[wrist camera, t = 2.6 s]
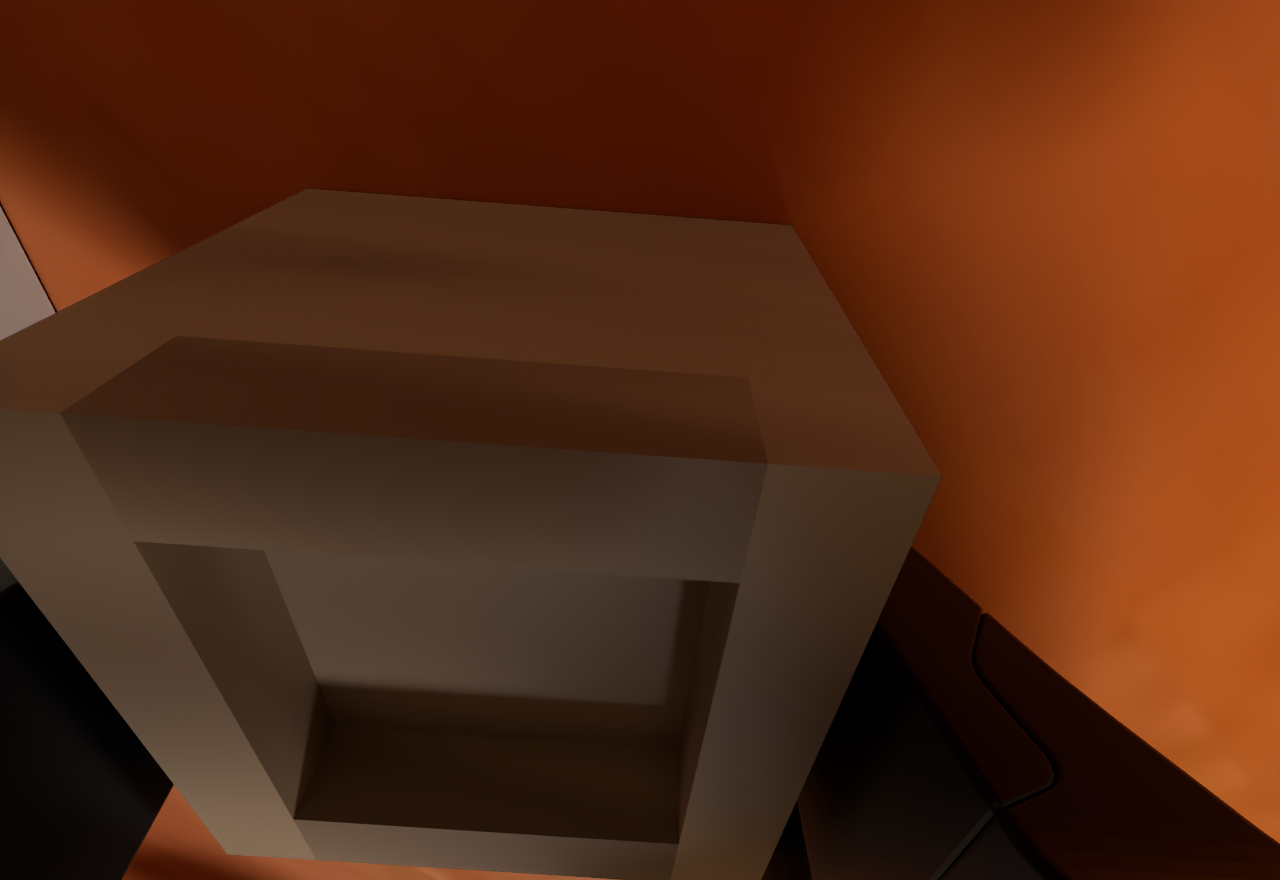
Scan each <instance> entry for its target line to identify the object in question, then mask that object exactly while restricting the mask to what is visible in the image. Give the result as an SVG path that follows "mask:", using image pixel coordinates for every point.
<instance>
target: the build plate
mask: <svg viewBox="0 0 1280 880" xmlns="http://www.w3.org/2000/svg"><path fill="white" fill-rule="evenodd" d="M53 314H55V311H54V309H53V307H52V305H51V303H50V301H49V299H48V297H47V295H46V293H45V291H44V289H43V288H42V286H41V284H40V282H39V280H38V278H37V276H36V274H35V272H34V270H33V268H32V266H31V264H30V263H29V261H28V259H27V257H26V255H25V253H24V251H23V249H22V247H21V245H20V243H19V241H18V239H17V238H16V236H15V234H14V232H13V230H12V228H11V226H10V224H9V222H8V220H7V218H6V216H5V214H4V213H3V211H2V209H1V207H0V340H2V339H4V338H6V337H8V336H10V335H12V334H14V333H16V332H18V331H20V330H22V329H24V328H26V327H28V326H30V325H32V324H34V323H36V322H39V321H41V320H43V319H45V318H47V317H49V316H51V315H53Z"/></svg>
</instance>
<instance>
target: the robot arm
mask: <svg viewBox="0 0 1280 880" xmlns="http://www.w3.org/2000/svg"><path fill="white" fill-rule="evenodd" d="M982 612H983V609H982V608H981V607H980V606H979V605H978V604H977V603H976V602H975V601H974V600H973V599H971V598H970V597H969V596H968V595H967V594H966V593H965V592H963V591H962V590H961V589H960V588H959V587H958V586H957V585H956V584H954V583H953V582H952V581H951V580H950V579H949V578H948V577H946V576H945V575H944V574H943V573H942V572H941V571H940V570H939V569H937V568H936V567H935V566H934V565H933V564H932V563H931V562H929V561H928V560H927V559H926V558H925V557H924V556H923V555H921V554H920V553H919V552H918V551H917V550H916V549H915V548H914V547H912V546H911V547H910V550H909V552H908V554H907V556H906V559H905V561H904V563H903V565H902V567H901V570H900V572H899V574H898V576H897V579H896V581H895V583H894V585H893V587H892V590H891V592H890V594H889V596H888V599H887V601H886V603H885V605H884V607H883V610H882V612H881V614H880V616H879V619H878V621H877V623H876V625H875V628H874V630H873V632H872V634H871V636H870V639H869V641H868V643H867V645H866V648H865V650H864V652H863V654H862V656H861V659H860V661H859V663H858V665H857V668H856V670H855V672H854V674H853V676H852V679H851V681H850V683H849V685H848V688H847V690H846V692H845V694H844V697H843V699H842V701H841V703H840V705H839V708H838V710H837V712H836V714H835V717H834V719H833V721H832V723H831V725H830V728H829V730H828V732H827V734H826V737H825V739H824V741H823V743H822V745H821V748H820V750H819V752H818V754H817V757H816V759H815V761H814V763H813V766H812V768H811V770H810V772H809V774H808V777H807V779H806V781H805V783H804V786H803V788H802V790H801V792H800V794H799V797H798V799H797V801H796V803H795V806H794V808H793V810H792V812H791V815H790V817H789V819H788V821H787V823H786V826H785V828H784V830H783V832H782V835H781V837H780V839H779V841H778V843H777V846H776V848H775V850H774V852H773V855H772V857H771V859H770V861H769V863H768V866H767V868H766V870H765V872H764V875H763V877H762V879H761V880H1280V844H1279V843H1278V842H1277V841H1275V840H1274V839H1273V838H1271V837H1270V836H1268V835H1267V834H1266V833H1264V832H1263V831H1261V830H1260V829H1259V828H1257V827H1256V826H1255V825H1253V824H1252V823H1251V822H1249V821H1248V820H1247V819H1246V818H1244V817H1243V816H1242V815H1240V814H1239V813H1238V812H1236V811H1235V810H1234V809H1233V808H1231V807H1230V806H1229V805H1227V804H1226V803H1225V802H1223V801H1222V800H1221V799H1219V798H1218V797H1217V796H1216V795H1214V794H1213V793H1212V792H1210V791H1209V790H1208V789H1206V788H1205V787H1204V786H1203V785H1201V784H1200V783H1199V782H1197V781H1196V780H1195V779H1193V778H1192V777H1191V776H1190V775H1188V774H1187V773H1186V772H1184V771H1183V770H1182V769H1180V768H1179V767H1178V766H1176V765H1175V764H1174V763H1173V762H1171V761H1170V760H1169V759H1167V758H1166V757H1165V756H1163V755H1162V754H1161V753H1160V752H1158V751H1157V750H1156V749H1154V748H1153V747H1152V746H1150V745H1149V744H1148V743H1147V742H1145V741H1144V740H1143V739H1141V738H1140V737H1139V736H1137V735H1136V734H1135V733H1134V732H1132V731H1131V730H1130V729H1128V728H1127V727H1126V726H1124V725H1123V724H1122V723H1120V722H1119V721H1118V720H1117V719H1115V718H1114V717H1113V716H1111V715H1110V714H1109V713H1108V712H1106V711H1105V710H1104V709H1103V708H1101V707H1100V706H1099V705H1098V704H1096V703H1095V702H1094V701H1092V700H1091V699H1090V698H1089V697H1087V696H1086V695H1085V694H1084V693H1082V692H1081V691H1080V690H1079V689H1077V688H1076V687H1075V686H1074V685H1072V684H1071V683H1070V682H1068V681H1067V680H1066V679H1065V678H1063V677H1062V676H1061V675H1060V674H1058V673H1057V672H1056V671H1055V670H1054V669H1053V668H1051V667H1050V666H1049V665H1048V664H1047V663H1045V662H1044V661H1043V660H1042V659H1041V658H1040V657H1038V656H1037V655H1036V654H1035V653H1034V652H1032V651H1031V650H1030V649H1029V648H1028V647H1027V646H1025V645H1024V644H1023V643H1022V642H1021V641H1020V640H1018V639H1017V638H1016V637H1015V636H1014V635H1013V634H1011V633H1010V632H1009V631H1008V630H1007V629H1006V628H1005V627H1003V626H1002V625H1001V624H1000V623H999V622H998V621H997V620H996V619H994V618H993V617H992V616H991V615H990V614H988V613H983V614H982ZM173 785H174V784H173V783H172V781H171V780H170V779H169V777H168V776H167V775H166V773H165V772H164V771H163V770H162V768H161V767H160V766H159V764H158V763H157V762H156V760H155V759H154V758H153V756H152V755H151V754H150V753H149V751H148V750H147V749H146V747H145V746H144V745H143V743H142V742H141V741H140V739H139V738H138V737H137V736H136V734H135V733H134V732H133V730H132V729H131V728H130V726H129V725H128V724H127V723H126V721H125V720H124V719H123V717H122V716H121V715H120V713H119V712H118V711H117V709H116V708H115V707H114V706H113V704H112V703H111V702H110V700H109V699H108V698H107V696H106V695H105V694H104V692H103V691H102V690H101V689H100V687H99V686H98V685H97V683H96V682H95V681H94V679H93V678H92V677H91V676H90V674H89V673H88V672H87V670H86V669H85V668H84V666H83V665H82V664H81V662H80V661H79V660H78V659H77V657H76V656H75V655H74V653H73V652H72V651H71V649H70V648H69V647H68V645H67V644H66V643H65V642H64V640H63V639H62V638H61V636H60V635H59V634H58V632H57V631H56V630H55V629H54V627H53V626H52V625H51V623H50V622H49V621H48V619H47V618H46V617H45V615H44V614H43V613H42V612H41V610H40V609H39V608H38V606H37V605H36V604H35V602H34V601H33V600H32V598H31V597H30V596H29V595H28V593H27V592H26V591H25V589H24V588H23V587H22V585H21V584H20V583H19V582H18V580H17V579H16V578H15V576H14V575H13V574H12V572H11V571H10V570H9V568H8V567H7V566H6V565H5V563H4V562H3V561H2V559H1V558H0V880H122V879H123V877H124V875H125V873H126V871H127V870H128V868H129V866H130V864H131V862H132V860H133V859H134V857H135V855H136V853H137V851H138V849H139V848H140V846H141V844H142V842H143V840H144V838H145V837H146V835H147V833H148V831H149V829H150V827H151V826H152V824H153V822H154V820H155V818H156V816H157V815H158V813H159V811H160V809H161V807H162V805H163V804H164V802H165V800H166V798H167V796H168V794H169V793H170V791H171V789H172V787H173Z"/></svg>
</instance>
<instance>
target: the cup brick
mask: <svg viewBox="0 0 1280 880" xmlns="http://www.w3.org/2000/svg"><path fill="white" fill-rule="evenodd" d="M941 478H942V475H941V473H940V471H939V470H938V468H937V466H936V465H935V463H934V461H933V460H932V458H931V456H930V455H929V453H928V451H927V450H926V448H925V446H924V445H923V443H922V441H921V440H920V438H919V436H918V435H917V433H916V431H915V430H914V428H913V426H912V425H911V423H910V421H909V420H908V418H907V416H906V415H905V413H904V411H903V410H902V408H901V406H900V405H899V403H898V401H897V400H896V398H895V396H894V395H893V393H892V391H891V390H890V388H889V386H888V385H887V383H886V381H885V380H884V378H883V376H882V375H881V373H880V371H879V370H878V368H877V366H876V365H875V363H874V361H873V360H872V358H871V356H870V355H869V353H868V351H867V350H866V348H865V346H864V345H863V343H862V341H861V340H860V338H859V336H858V335H857V333H856V331H855V330H854V328H853V326H852V325H851V323H850V321H849V320H848V318H847V316H846V315H845V313H844V311H843V310H842V308H841V306H840V305H839V303H838V301H837V300H836V298H835V296H834V295H833V293H832V291H831V290H830V288H829V286H828V285H827V283H826V281H825V280H824V278H823V276H822V275H821V273H820V271H819V270H818V268H817V266H816V265H815V263H814V261H813V260H812V258H811V256H810V255H809V253H808V251H807V250H806V248H805V246H804V245H803V243H802V241H801V240H800V238H799V236H798V235H797V233H796V231H795V230H794V228H793V226H792V225H781V224H768V223H755V222H742V221H728V220H715V219H702V218H689V217H676V216H663V215H650V214H637V213H623V212H610V211H597V210H584V209H571V208H558V207H545V206H531V205H518V204H505V203H492V202H479V201H466V200H453V199H439V198H426V197H413V196H400V195H387V194H374V193H361V192H347V191H334V190H321V189H308V188H307V189H305V190H303V191H301V192H299V193H297V194H295V195H293V196H291V197H289V198H287V199H285V200H283V201H281V202H279V203H277V204H275V205H273V206H271V207H269V208H267V209H265V210H263V211H261V212H259V213H257V214H255V215H253V216H251V217H249V218H246V219H244V220H242V221H240V222H238V223H236V224H234V225H232V226H230V227H228V228H226V229H224V230H222V231H220V232H218V233H216V234H214V235H212V236H210V237H208V238H206V239H204V240H202V241H200V242H198V243H196V244H194V245H192V246H190V247H188V248H186V249H184V250H182V251H180V252H178V253H176V254H174V255H172V256H170V257H168V258H166V259H164V260H162V261H160V262H158V263H156V264H154V265H152V266H150V267H148V268H146V269H144V270H141V271H139V272H137V273H135V274H133V275H131V276H129V277H127V278H125V279H123V280H121V281H119V282H117V283H115V284H113V285H111V286H109V287H107V288H105V289H103V290H101V291H99V292H97V293H95V294H93V295H91V296H89V297H87V298H85V299H83V300H81V301H79V302H77V303H75V304H73V305H71V306H69V307H67V308H65V309H63V310H61V311H59V312H57V313H55V314H53V315H51V316H49V317H47V318H45V319H43V320H41V321H39V322H36V323H34V324H32V325H30V326H28V327H26V328H24V329H22V330H20V331H18V332H16V333H14V334H12V335H10V336H8V337H6V338H4V339H2V340H0V558H1V559H2V561H3V562H4V563H5V565H6V566H7V567H8V568H9V570H10V571H11V572H12V574H13V575H14V576H15V578H16V579H17V580H18V582H19V583H20V584H21V585H22V587H23V588H24V589H25V591H26V592H27V593H28V595H29V596H30V597H31V598H32V600H33V601H34V602H35V604H36V605H37V606H38V608H39V609H40V610H41V612H42V613H43V614H44V615H45V617H46V618H47V619H48V621H49V622H50V623H51V625H52V626H53V627H54V629H55V630H56V631H57V632H58V634H59V635H60V636H61V638H62V639H63V640H64V642H65V643H66V644H67V645H68V647H69V648H70V649H71V651H72V652H73V653H74V655H75V656H76V657H77V659H78V660H79V661H80V662H81V664H82V665H83V666H84V668H85V669H86V670H87V672H88V673H89V674H90V676H91V677H92V678H93V679H94V681H95V682H96V683H97V685H98V686H99V687H100V689H101V690H102V691H103V692H104V694H105V695H106V696H107V698H108V699H109V700H110V702H111V703H112V704H113V706H114V707H115V708H116V709H117V711H118V712H119V713H120V715H121V716H122V717H123V719H124V720H125V721H126V723H127V724H128V725H129V726H130V728H131V729H132V730H133V732H134V733H135V734H136V736H137V737H138V738H139V739H140V741H141V742H142V743H143V745H144V746H145V747H146V749H147V750H148V751H149V753H150V754H151V755H152V756H153V758H154V759H155V760H156V762H157V763H158V764H159V766H160V767H161V768H162V770H163V771H164V772H165V773H166V775H167V776H168V777H169V779H170V780H171V781H172V783H173V784H174V785H175V786H176V788H177V789H178V790H179V792H180V793H181V794H182V796H183V797H184V798H185V800H186V801H187V802H188V803H189V805H190V806H191V807H192V809H193V810H194V811H195V813H196V814H197V815H198V817H199V818H200V819H201V820H202V822H203V823H204V824H205V826H206V827H207V828H208V830H209V831H210V832H211V833H212V835H213V836H214V837H215V839H216V840H217V841H218V843H219V844H220V845H221V847H222V848H223V849H224V850H225V852H226V853H227V854H230V855H246V856H262V857H277V858H293V859H309V860H324V861H340V862H356V863H371V864H387V865H403V866H418V867H434V868H450V869H465V870H481V871H497V872H513V873H528V874H544V875H560V876H575V877H591V878H607V879H622V880H761V879H762V877H763V875H764V872H765V870H766V868H767V866H768V863H769V861H770V859H771V857H772V855H773V852H774V850H775V848H776V846H777V843H778V841H779V839H780V837H781V835H782V832H783V830H784V828H785V826H786V823H787V821H788V819H789V817H790V815H791V812H792V810H793V808H794V806H795V803H796V801H797V799H798V797H799V794H800V792H801V790H802V788H803V786H804V783H805V781H806V779H807V777H808V774H809V772H810V770H811V768H812V766H813V763H814V761H815V759H816V757H817V754H818V752H819V750H820V748H821V745H822V743H823V741H824V739H825V737H826V734H827V732H828V730H829V728H830V725H831V723H832V721H833V719H834V717H835V714H836V712H837V710H838V708H839V705H840V703H841V701H842V699H843V697H844V694H845V692H846V690H847V688H848V685H849V683H850V681H851V679H852V676H853V674H854V672H855V670H856V668H857V665H858V663H859V661H860V659H861V656H862V654H863V652H864V650H865V648H866V645H867V643H868V641H869V639H870V636H871V634H872V632H873V630H874V628H875V625H876V623H877V621H878V619H879V616H880V614H881V612H882V610H883V607H884V605H885V603H886V601H887V599H888V596H889V594H890V592H891V590H892V587H893V585H894V583H895V581H896V579H897V576H898V574H899V572H900V570H901V567H902V565H903V563H904V561H905V559H906V556H907V554H908V552H909V550H910V547H911V545H912V543H913V541H914V538H915V536H916V534H917V532H918V530H919V527H920V525H921V523H922V521H923V518H924V516H925V514H926V512H927V510H928V507H929V505H930V503H931V501H932V498H933V496H934V494H935V492H936V490H937V487H938V485H939V483H940V481H941Z"/></svg>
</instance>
